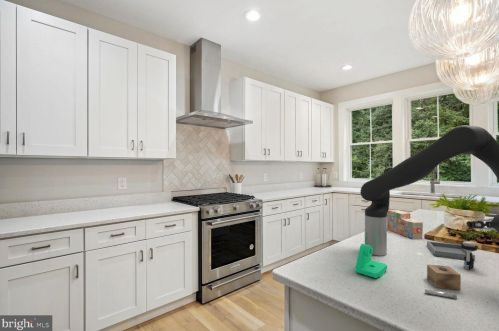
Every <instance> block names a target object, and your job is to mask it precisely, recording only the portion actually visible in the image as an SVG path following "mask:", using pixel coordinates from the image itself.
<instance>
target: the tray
mask: <svg viewBox="0 0 499 331" xmlns="http://www.w3.org/2000/svg"><path fill="white" fill-rule="evenodd" d="M426 246H427V248H428V250H430V252H431V253H432V255H433V256H434V257H439V258H448V259H453V260H454V259H456V260H463V261H464V257H465V255H466V250H464V249H462V248H461V245H460V244H459V243H458V244H457V243H449V242H442V241H441V242H438V241H430V240H428V241H426ZM472 256H473V259H474V262H475V261H476V256H475V254H474V253H472Z"/></svg>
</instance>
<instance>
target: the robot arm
mask: <svg viewBox="0 0 499 331" xmlns="http://www.w3.org/2000/svg"><path fill="white" fill-rule="evenodd" d="M460 155H472V156H474V157H475V158H476V159H479V160H480V161H481V162H483V163H484V164H485V165H486V166H487V167H488V168H489V169H490V170H491V172H492V173H493V174H494V175H495V177H496V178H497V180H498V181H499V142H498V140H496V139H495V137H494V136H492V134H491V133H490V132H489V131H488V130H487V129H486V128H484V127H480V126H477V125H467V124H466V125H463V124H462V125H458V126H455V127H453V128H451V129H450V130H448V131H447V132H446V133H444V134H443V135H442V136H440V137H439V138H438V139H437V140H435V141H434V142H432V143H431V144H430V145H428V146H427V147H425V148H423V149H422V150H420V151H418V152H416V153H415V154H413V155H412V156H409V157H408V158H406V159H404V160H402V161H401V162H400V163H398V164H397V165H395V166H393V167H392V168H390V169H389V170H387V171H386V172H384V173H382V174H381V175H378V176H377V177H375V178H373V179H371V180H368V181H366V182H365V183H363V185H362V186H361V187H360V192H359V193H360V195H361V198H362V199H364V201H367V202H371V203H370V205H369V206H367V207H366V208H364V244H366V245H370V246H372V248H373V252H372V256H378V257H380V256H386V255H387V251H388V245H387V244H388V229H387V212H388V210H390V197H391V196H390V195H391V194H390V193H391V191H392V190H394V189H399V188H402V187H406V186H410V185H411V184H414V183H416V182H418V181H421V180H423V179H424V178H426V177H428V176H429V175H430V174H431V173H432V172H434V170H435V169H436V168H437V166H439V165H440V164H441V163H443V162H446V161H447V160H450V159H452V158H454V157H458V156H460ZM466 227H467V228H468V229H469V230H473V229H480V230H483V231H485V230H491V231H495V232H496V231H497V233H499V213H498V212H497V213H496V214H495V215H494V217H493V218H491V217H489V218H486V219H479V220H473V221H471V220H468V221H466Z"/></svg>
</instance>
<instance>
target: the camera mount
mask: <svg viewBox="0 0 499 331" xmlns="http://www.w3.org/2000/svg"><path fill="white" fill-rule="evenodd" d="M372 252H373V248H372V246H370V245H366V244H365V243H361V244H360V246H359V250H358V254H357V258H356V262H355V266H354V269H355V270H354V271H355V272H356V273H360V274H361V275H365V276H367V277H368V276H369V277H371V278H375V279H377V278H382V277H383V276H384V274H385V272H386V271H387V270H388V264H387V263H385V262H384V263H383V262H380V261H377V260H373V259H372V256H373V255H372ZM385 275H386V274H385Z"/></svg>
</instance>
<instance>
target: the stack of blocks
mask: <svg viewBox="0 0 499 331" xmlns="http://www.w3.org/2000/svg"><path fill="white" fill-rule="evenodd" d="M423 227H424V222H423V221H420V220H417V219H413V218H411V213H410V212H406V211H401V210H399V209H389V210H388V212H387V230H388V231H392V232H393V233H396V234H398V235H400V236H403V237H406V238H408V239H411V240H422V239H423V233H424V232H423V230H424V229H423Z"/></svg>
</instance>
